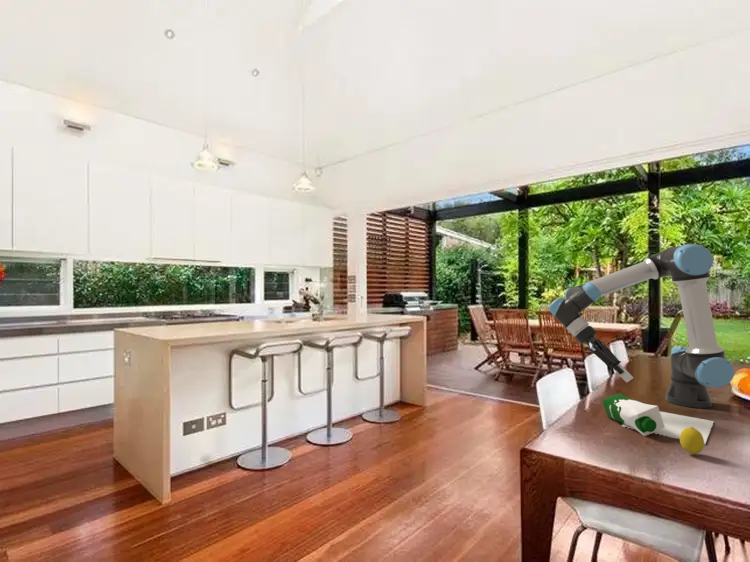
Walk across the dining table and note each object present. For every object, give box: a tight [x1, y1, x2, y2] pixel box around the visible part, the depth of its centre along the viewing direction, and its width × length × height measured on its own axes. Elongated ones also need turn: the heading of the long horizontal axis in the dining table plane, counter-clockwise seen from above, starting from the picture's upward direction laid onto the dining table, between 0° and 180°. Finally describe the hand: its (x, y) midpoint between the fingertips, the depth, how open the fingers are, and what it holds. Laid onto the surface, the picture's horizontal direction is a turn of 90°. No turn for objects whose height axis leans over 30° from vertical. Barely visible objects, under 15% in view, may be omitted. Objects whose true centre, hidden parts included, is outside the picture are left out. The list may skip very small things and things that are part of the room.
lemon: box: [679, 427, 705, 456], centre depth 120 cm, size 6×6×8 cm
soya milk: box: [601, 392, 665, 437], centre depth 142 cm, size 9×9×20 cm
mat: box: [621, 410, 715, 446], centre depth 145 cm, size 22×28×1 cm
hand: (630, 380), depth 153 cm, fingers closed
